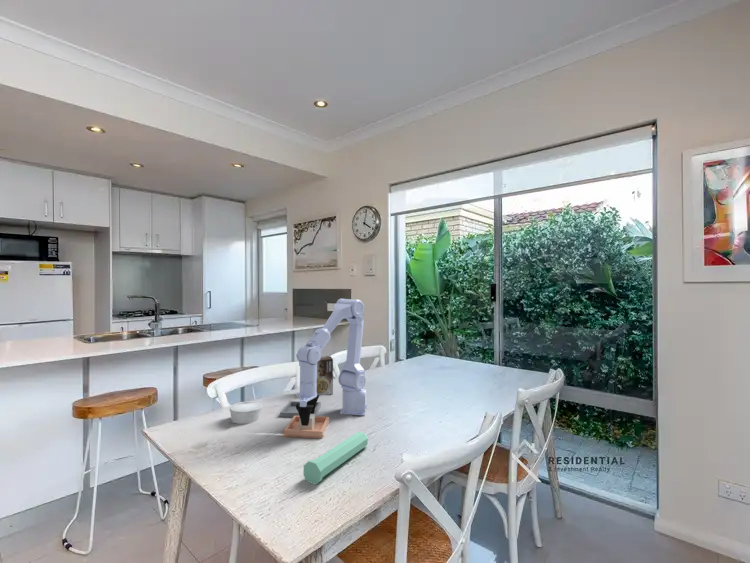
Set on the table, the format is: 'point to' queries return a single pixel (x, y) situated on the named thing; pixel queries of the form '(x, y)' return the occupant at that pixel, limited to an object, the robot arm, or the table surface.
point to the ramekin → (245, 412)
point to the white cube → (310, 425)
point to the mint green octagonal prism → (334, 457)
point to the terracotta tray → (317, 431)
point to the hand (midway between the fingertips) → (307, 420)
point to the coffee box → (325, 376)
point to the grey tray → (292, 411)
